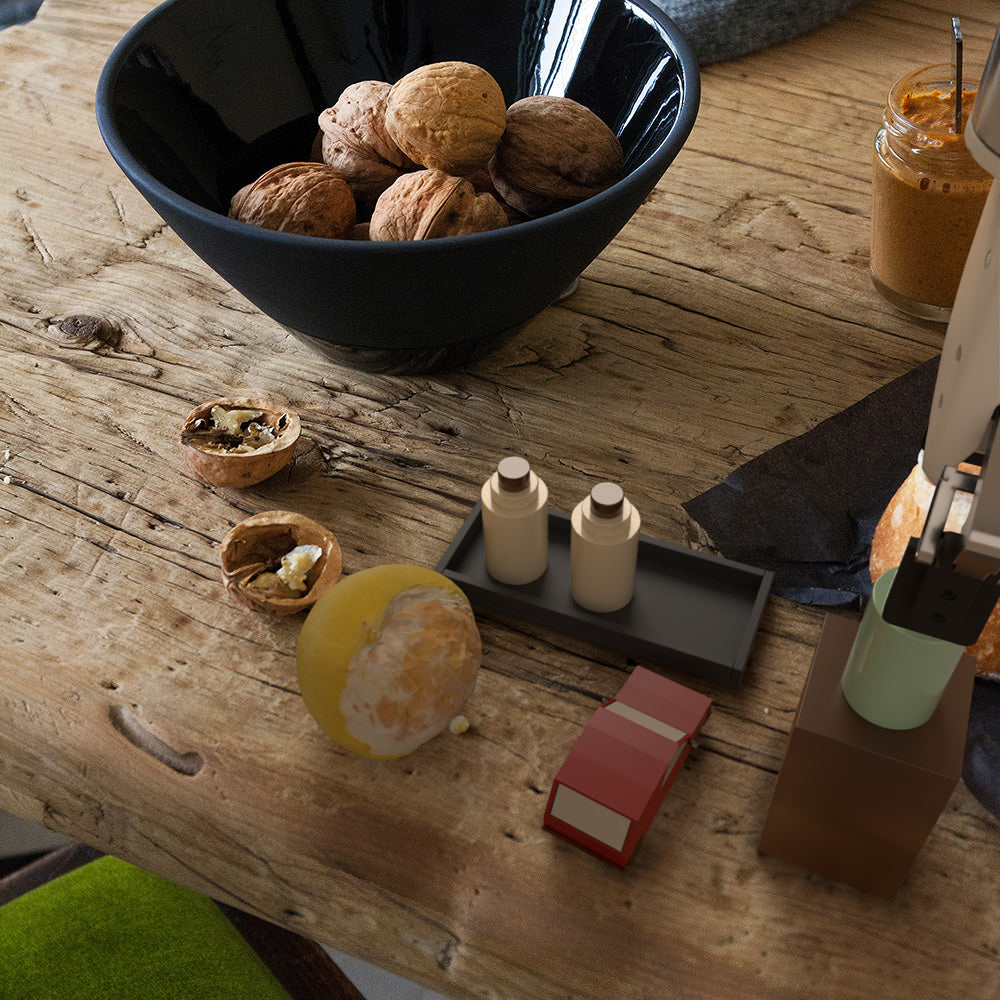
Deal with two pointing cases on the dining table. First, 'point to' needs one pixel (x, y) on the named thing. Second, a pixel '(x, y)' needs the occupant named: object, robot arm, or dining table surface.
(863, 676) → the bottle celadon
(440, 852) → the dining table surface
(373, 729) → the fruit
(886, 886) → the stand
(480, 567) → the tray
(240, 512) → the dining table surface
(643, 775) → the toy truck
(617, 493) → the bottle mid
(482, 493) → the bottle far
